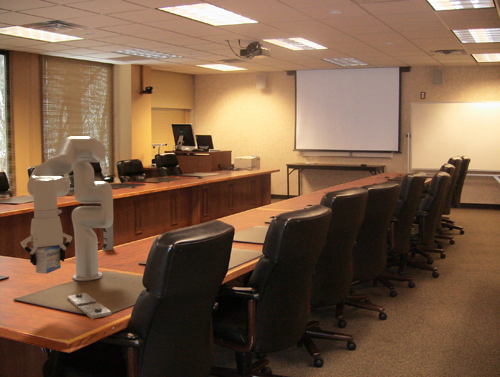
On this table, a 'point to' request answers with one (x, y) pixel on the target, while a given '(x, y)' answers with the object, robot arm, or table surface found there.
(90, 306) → the beige hinge strap
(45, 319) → the table surface
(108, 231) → the vintage mobile phone
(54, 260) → the medicine box
